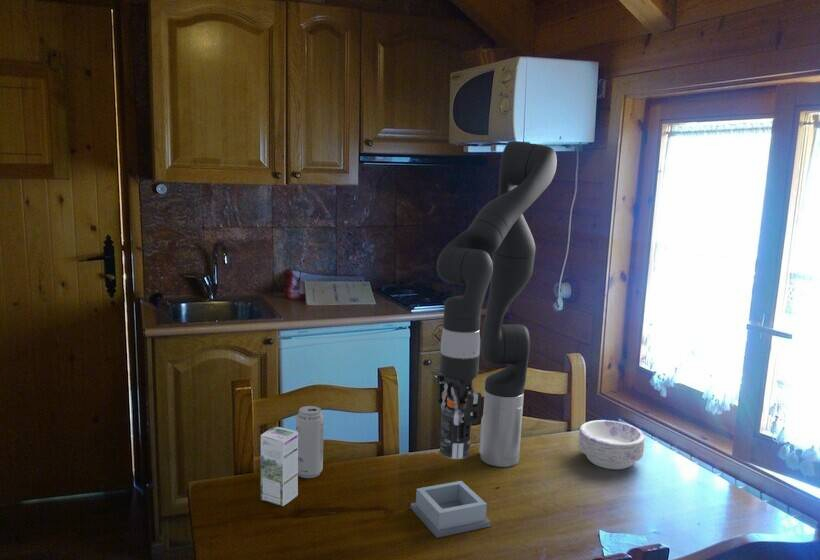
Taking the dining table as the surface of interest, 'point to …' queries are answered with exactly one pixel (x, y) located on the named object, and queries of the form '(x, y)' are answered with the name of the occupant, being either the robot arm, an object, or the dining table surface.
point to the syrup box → (279, 465)
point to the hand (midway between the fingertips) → (455, 433)
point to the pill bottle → (452, 433)
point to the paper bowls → (611, 443)
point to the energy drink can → (310, 441)
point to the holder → (450, 509)
